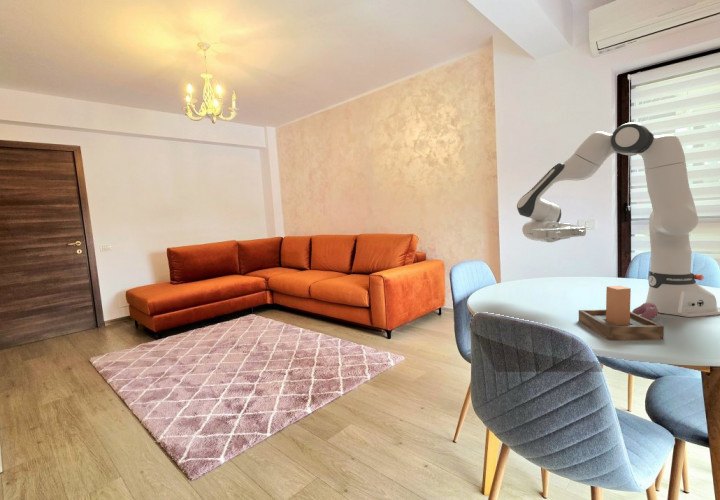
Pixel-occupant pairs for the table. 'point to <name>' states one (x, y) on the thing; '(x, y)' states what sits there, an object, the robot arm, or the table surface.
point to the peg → (618, 305)
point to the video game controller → (646, 310)
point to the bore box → (621, 326)
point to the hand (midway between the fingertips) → (570, 233)
